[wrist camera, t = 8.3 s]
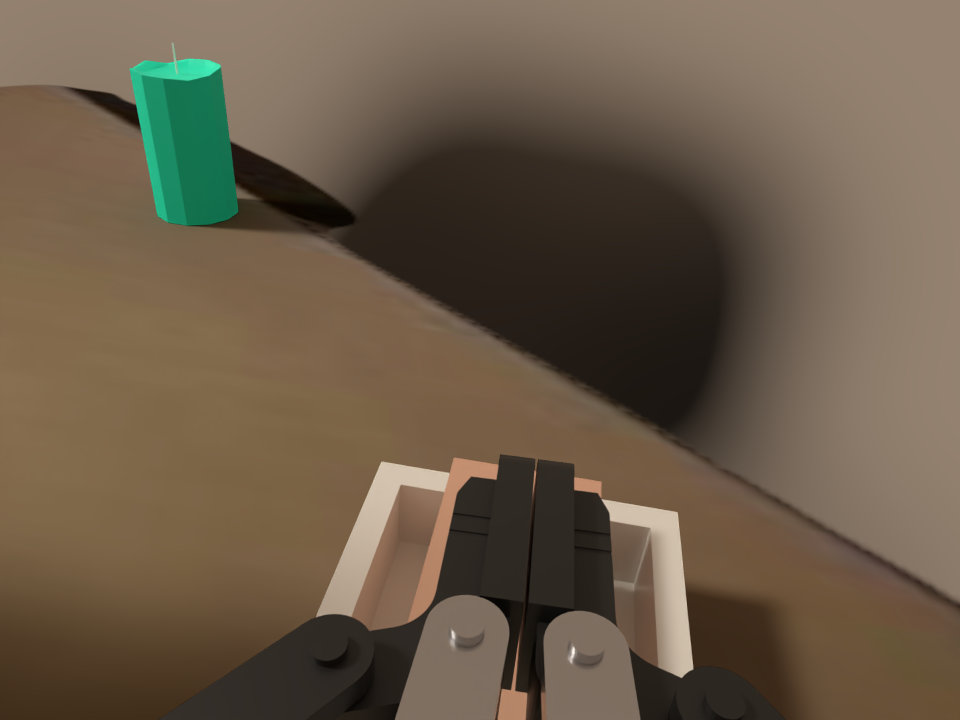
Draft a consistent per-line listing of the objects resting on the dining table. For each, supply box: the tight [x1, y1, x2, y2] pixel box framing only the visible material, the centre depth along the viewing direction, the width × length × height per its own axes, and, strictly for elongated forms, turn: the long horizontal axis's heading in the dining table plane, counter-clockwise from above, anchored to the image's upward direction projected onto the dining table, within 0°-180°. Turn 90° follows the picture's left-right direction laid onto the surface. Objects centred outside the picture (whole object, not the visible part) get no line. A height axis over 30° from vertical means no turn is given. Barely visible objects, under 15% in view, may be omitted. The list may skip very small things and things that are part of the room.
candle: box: [130, 43, 238, 226], centre depth 51 cm, size 6×6×12 cm
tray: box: [316, 462, 693, 678], centre depth 22 cm, size 12×11×4 cm
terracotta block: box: [408, 458, 601, 720], centre depth 21 cm, size 5×5×10 cm
